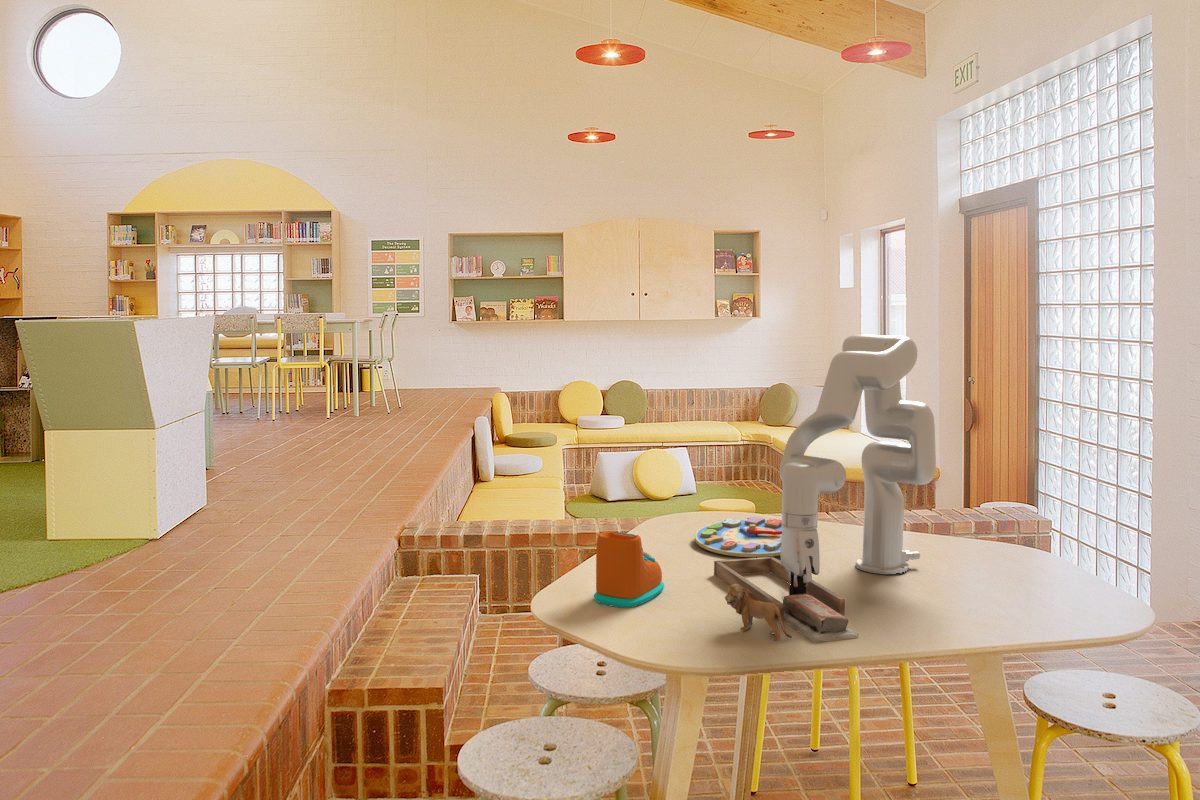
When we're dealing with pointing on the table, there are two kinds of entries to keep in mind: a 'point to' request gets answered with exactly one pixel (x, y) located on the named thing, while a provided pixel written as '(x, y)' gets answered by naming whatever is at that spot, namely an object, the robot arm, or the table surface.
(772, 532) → the shape sorting clock
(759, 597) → the open-ended wooden frame
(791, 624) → the packaged product
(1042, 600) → the table surface
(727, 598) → the lion figurine
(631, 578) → the toy shoe
